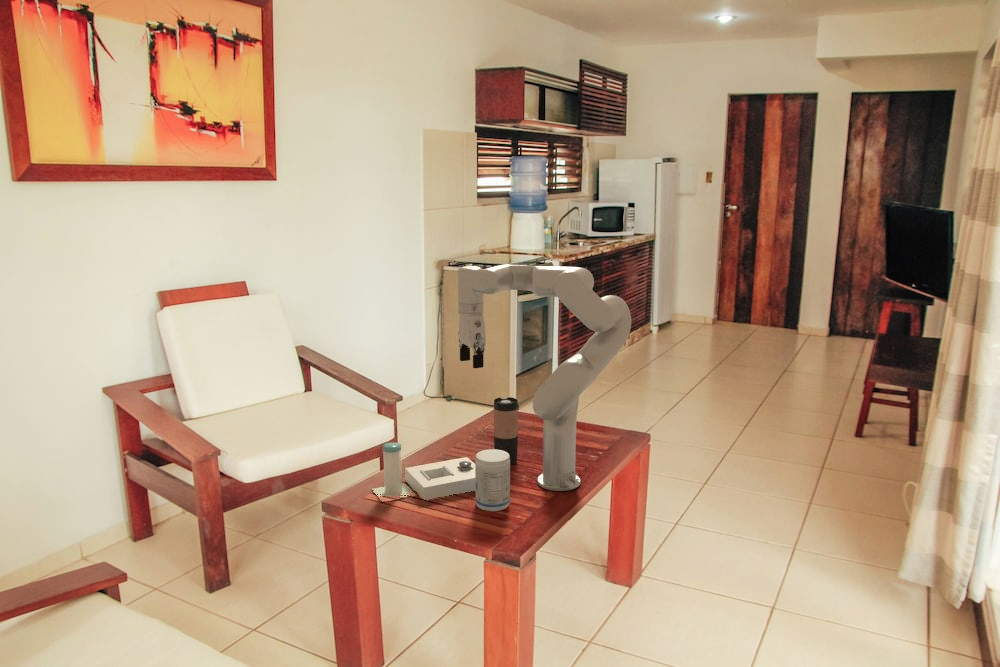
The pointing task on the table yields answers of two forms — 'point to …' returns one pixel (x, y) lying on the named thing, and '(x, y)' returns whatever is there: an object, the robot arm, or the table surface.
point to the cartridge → (392, 469)
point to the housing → (441, 478)
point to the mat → (382, 491)
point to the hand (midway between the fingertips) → (471, 364)
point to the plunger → (464, 465)
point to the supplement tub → (492, 480)
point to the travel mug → (506, 426)
